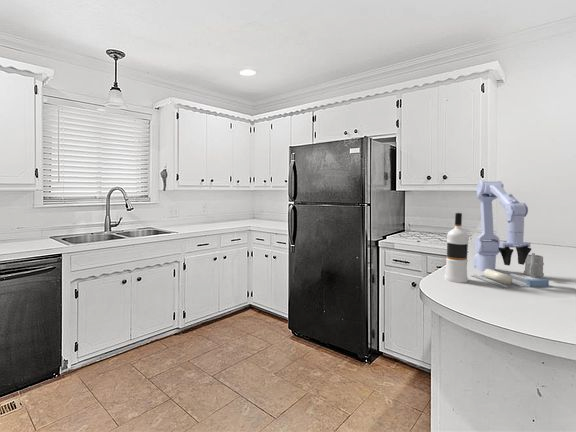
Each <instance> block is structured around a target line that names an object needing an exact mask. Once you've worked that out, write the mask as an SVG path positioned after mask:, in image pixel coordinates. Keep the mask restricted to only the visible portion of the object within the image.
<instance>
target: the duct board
mask: <svg viewBox="0 0 576 432" xmlns="http://www.w3.org/2000/svg"><path fill="white" fill-rule="evenodd" d="M508 275H509V276H511V277H512V279H513V281H512V283H511V284H510V285H506V284H503V283H500V282H497V281H495V280H492V279H489V278H486V277H485V276H484V274H483V275H478V274H473V275H471V277H472V278H475V279H477V280H480V281H483V282H486V283H488V284H491V285H493V286H495V287H499V288H501V289H518V288H521V289H522V288H523V289H524V288H543V287H544V288H547V287H549V288H550V287H553V285H549V284H550V283H549V282H550V279H546V278H542V279H541V278H528V277H525V276H522V275H519V274H515V273H509V274H508Z"/></svg>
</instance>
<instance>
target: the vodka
mask: <svg viewBox="0 0 576 432" xmlns="http://www.w3.org/2000/svg"><path fill="white" fill-rule="evenodd" d="M454 215H455V218H454V227H453V228H452V229H451V230H449V231H448V232H447V233H446V242H447V244H446V258H445V261H446V262H445V263H446V264H445V265H446V266H445V272H444V275H443V279H444V280H445V281H446V282H450V283H451V282H452V283H457V284H458V283H459V284H463V283H464V284H465V283H468V282H469V278H468V261H469V260H468V253H469V251H468V249H469V239H470V235H469V233H468V232H467V231H466V230H464V229H463V228H462V227H463V226H462V223H463V222H462V221H463V213H462V212H455V214H454Z"/></svg>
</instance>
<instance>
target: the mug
mask: <svg viewBox="0 0 576 432" xmlns="http://www.w3.org/2000/svg"><path fill="white" fill-rule="evenodd" d="M544 265H545V263H544V256H542V255H539V254H538V255H537V254H536V253H535V252H531V254H528V255H527V258H526V260H525V263H524V270H523V274H524V275H525V276H529V277H530V278H534V277H535V278H537V279H544V278H543V277H544V276H545V273H544Z"/></svg>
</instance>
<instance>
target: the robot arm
mask: <svg viewBox="0 0 576 432" xmlns="http://www.w3.org/2000/svg"><path fill="white" fill-rule="evenodd" d="M504 188H505V187H504V183H503V182H502V181H501V180H497V181H496V180H495V181H491V180H490V181H488V180H487V181H486V180H484V181H483V180H480V181H479V182H477V185H476V197H477V199H478V200H479V203H480V223H481V225H480V227H481V234H480V235H477V236H476V238H475V243H474V244H475V245H474V249H475V252H476V253H475V255H474V256H473V257H474V258H473V270H474V269H476V270H478V271H480V272H483V273H484V271H485V270H486V269H491V270H494V271H496V261H497V256H498V254H499V253H500V256H501V258H502V261H503V265H505V266H511V260H512V255H513V253H514V249H511V248H515V250H516V253H517V263H518V265H523V266H525V261H526V258H527V255H530V254H529V253H531V251H532V248H531V242H529V241H528V242H527V241H524V234H525V217H527V215H528V213H529V208H528V205H527V204H526V203H525V202H520V201H519V200H518V199H517V198H516V197H515V196H514V195H513V194H512V193H507V191H506V190H505V189H504ZM496 199H499V201H498V202H499V204H500V205H501V207H502V208H504V212H505V213H504V214H505V218H506V222H507V227H506V228H507V229H506V231H507V232H506V242H501V241H500V237H498V236H497V235H496V234H495V233H494V217H493V216H494V215H493V201H494V200H496Z"/></svg>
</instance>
